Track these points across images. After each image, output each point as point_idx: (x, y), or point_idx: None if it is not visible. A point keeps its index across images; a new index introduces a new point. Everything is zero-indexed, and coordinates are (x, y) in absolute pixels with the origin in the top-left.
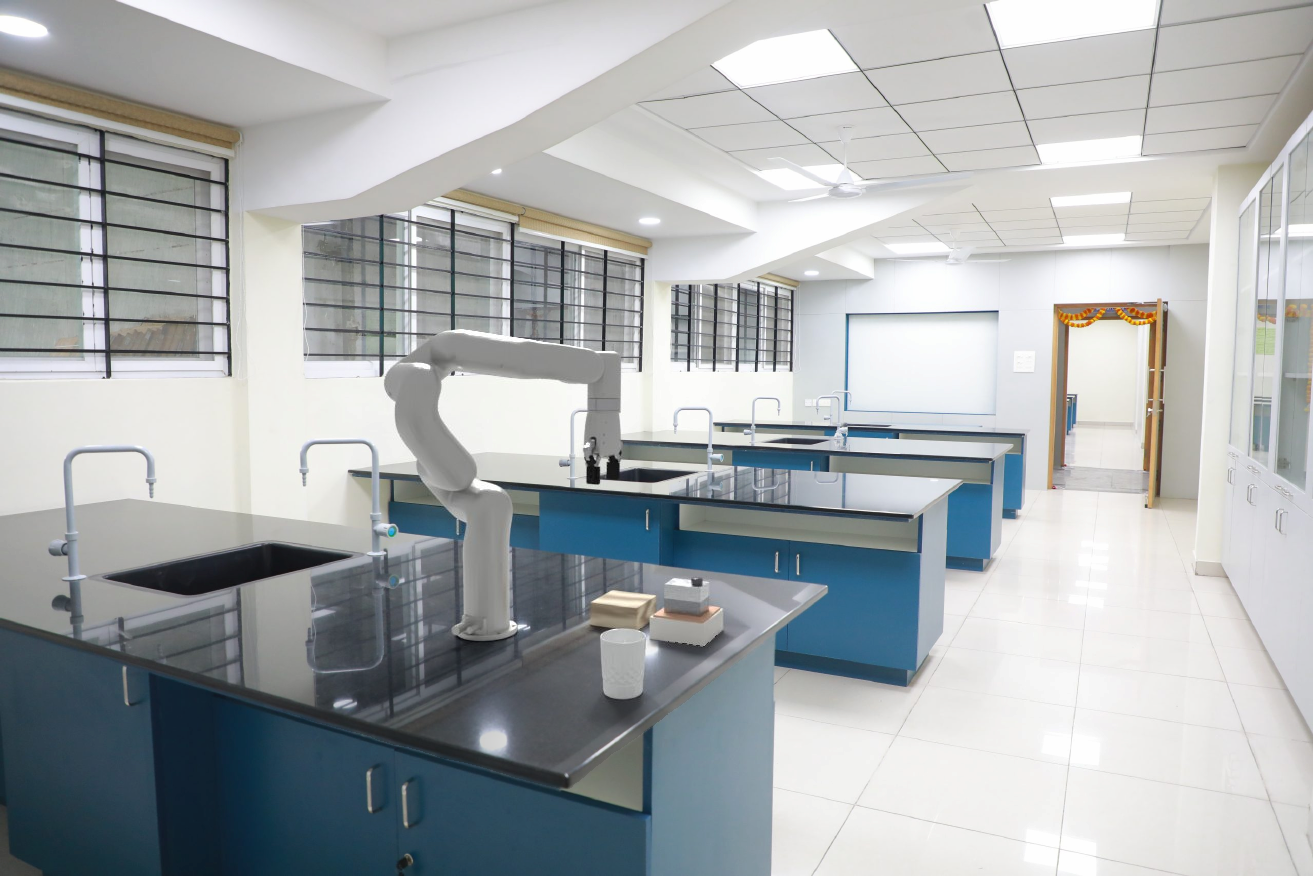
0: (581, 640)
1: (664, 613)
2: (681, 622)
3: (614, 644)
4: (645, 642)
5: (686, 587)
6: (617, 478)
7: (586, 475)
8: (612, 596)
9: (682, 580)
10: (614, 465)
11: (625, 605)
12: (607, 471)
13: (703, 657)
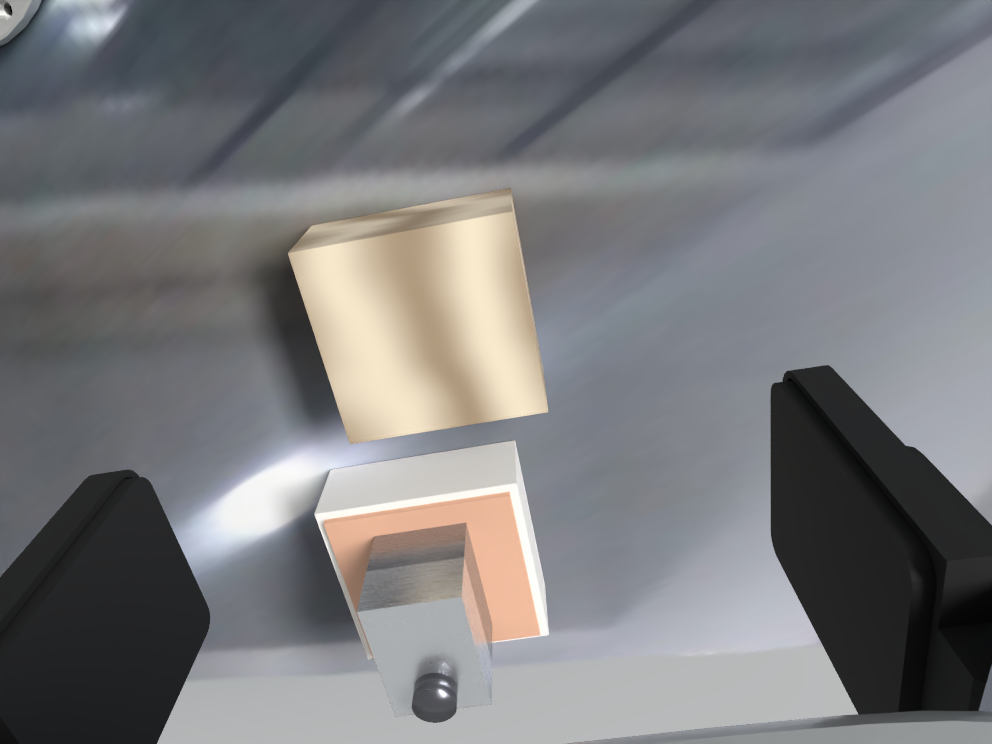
0: (161, 308)
1: (362, 544)
2: (348, 600)
3: None
4: None
5: (382, 675)
6: (775, 548)
7: (25, 551)
8: (423, 275)
9: (449, 634)
10: (871, 672)
11: (351, 393)
12: (818, 460)
13: (307, 637)
